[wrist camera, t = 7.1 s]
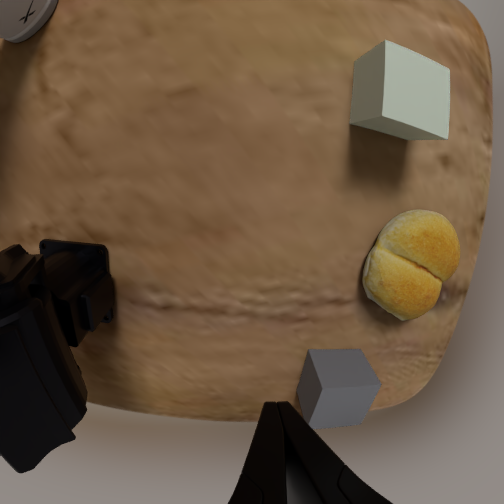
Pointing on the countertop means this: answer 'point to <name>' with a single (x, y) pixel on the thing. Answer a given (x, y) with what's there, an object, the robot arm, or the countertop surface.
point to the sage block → (401, 93)
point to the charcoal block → (336, 388)
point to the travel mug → (23, 18)
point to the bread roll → (411, 263)
